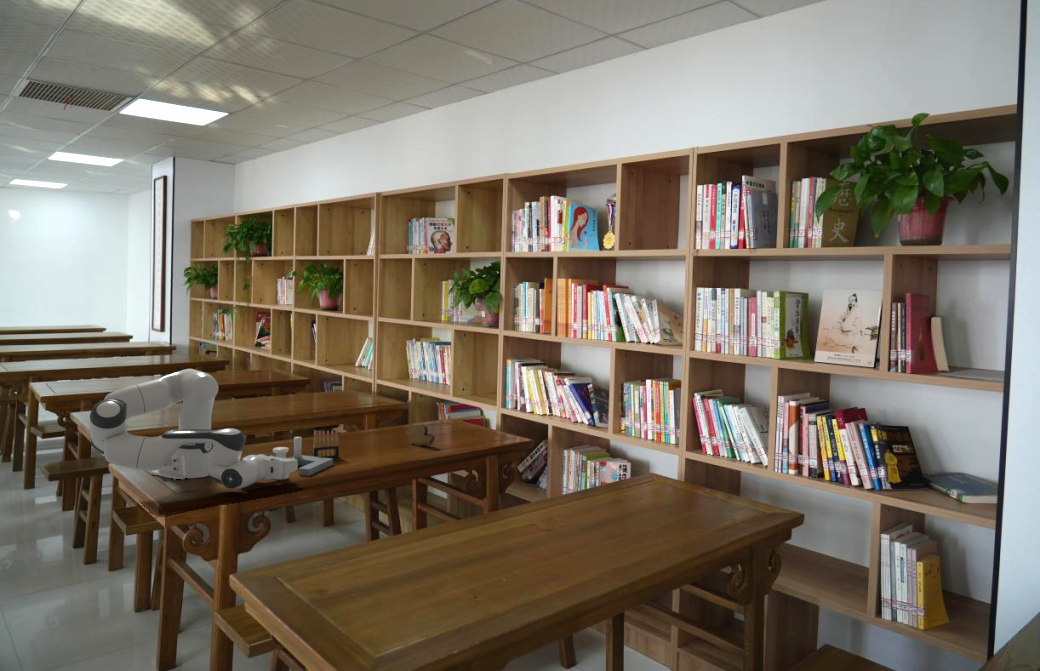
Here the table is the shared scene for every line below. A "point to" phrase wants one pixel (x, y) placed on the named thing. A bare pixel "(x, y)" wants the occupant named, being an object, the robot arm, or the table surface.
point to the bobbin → (281, 454)
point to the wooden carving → (420, 435)
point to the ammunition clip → (326, 445)
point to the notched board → (309, 460)
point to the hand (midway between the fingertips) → (282, 458)
